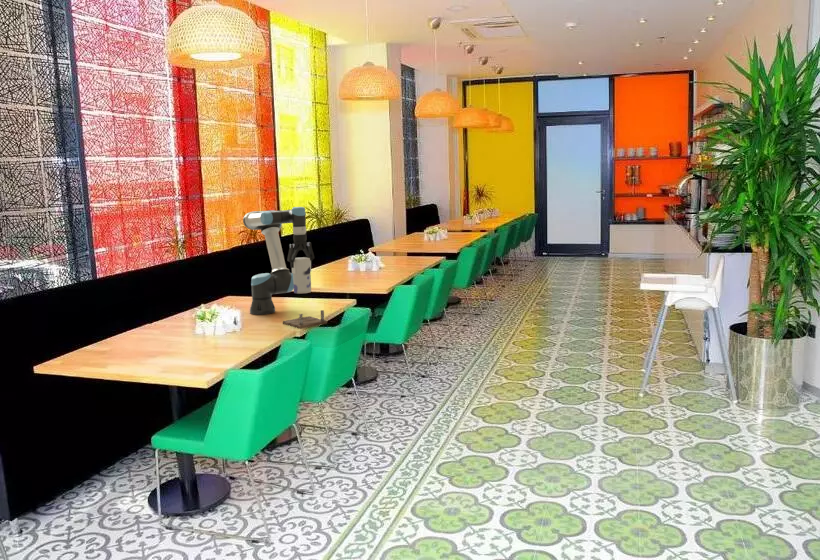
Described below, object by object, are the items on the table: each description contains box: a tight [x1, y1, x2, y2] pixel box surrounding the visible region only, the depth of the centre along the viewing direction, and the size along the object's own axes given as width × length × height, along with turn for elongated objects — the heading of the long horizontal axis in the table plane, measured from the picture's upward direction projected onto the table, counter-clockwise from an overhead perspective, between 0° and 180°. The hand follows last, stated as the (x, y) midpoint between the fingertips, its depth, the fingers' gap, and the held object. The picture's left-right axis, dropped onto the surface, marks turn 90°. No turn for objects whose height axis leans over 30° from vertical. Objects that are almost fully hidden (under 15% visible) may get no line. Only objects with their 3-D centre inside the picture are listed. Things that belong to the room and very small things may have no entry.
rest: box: [282, 310, 328, 329], centre depth 412 cm, size 18×18×8 cm
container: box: [293, 256, 312, 294], centre depth 424 cm, size 10×10×20 cm
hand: (301, 272), depth 424 cm, fingers closed on container, 10 cm apart
